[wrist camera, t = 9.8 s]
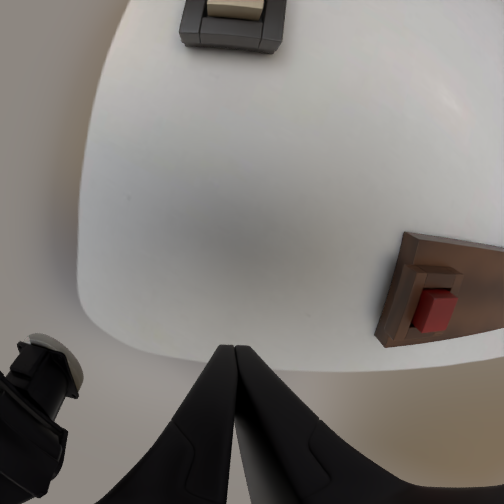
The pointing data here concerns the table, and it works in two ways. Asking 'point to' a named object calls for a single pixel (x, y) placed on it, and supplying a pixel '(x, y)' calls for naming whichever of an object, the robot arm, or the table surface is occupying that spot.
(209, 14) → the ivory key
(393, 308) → the walnut key block
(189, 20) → the black key block
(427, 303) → the red key
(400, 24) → the table surface
